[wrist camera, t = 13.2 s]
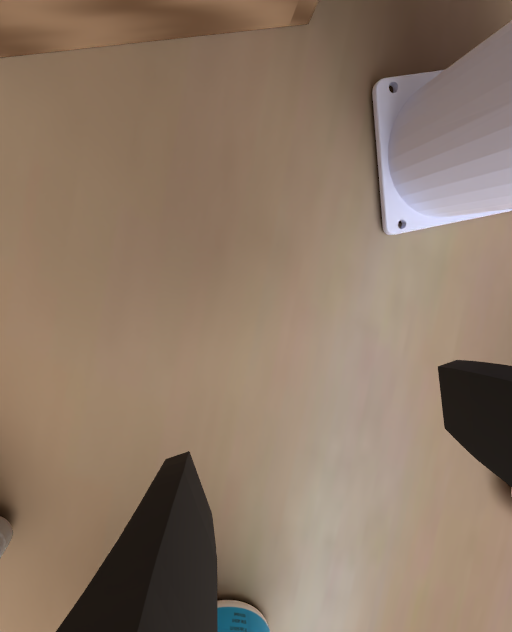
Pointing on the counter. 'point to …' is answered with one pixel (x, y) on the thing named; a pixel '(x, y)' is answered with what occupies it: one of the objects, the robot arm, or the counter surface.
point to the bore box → (134, 21)
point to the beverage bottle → (239, 617)
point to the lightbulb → (5, 534)
